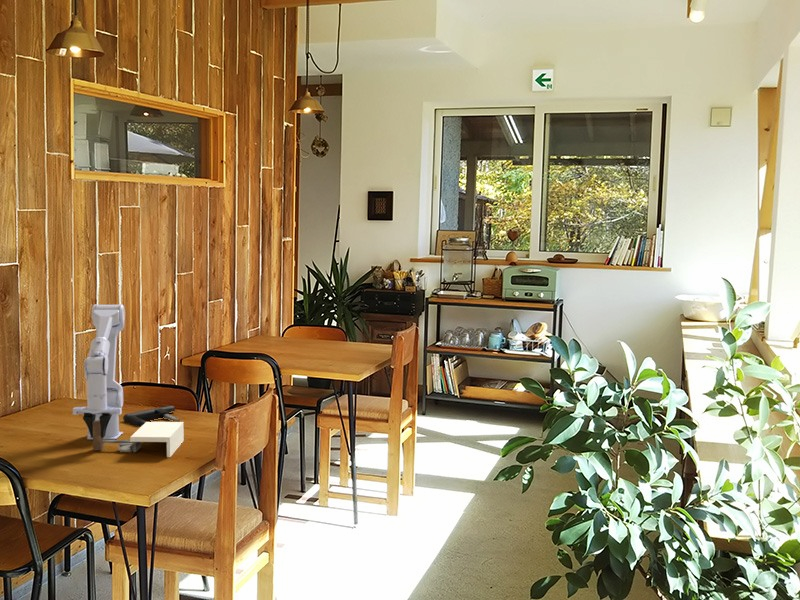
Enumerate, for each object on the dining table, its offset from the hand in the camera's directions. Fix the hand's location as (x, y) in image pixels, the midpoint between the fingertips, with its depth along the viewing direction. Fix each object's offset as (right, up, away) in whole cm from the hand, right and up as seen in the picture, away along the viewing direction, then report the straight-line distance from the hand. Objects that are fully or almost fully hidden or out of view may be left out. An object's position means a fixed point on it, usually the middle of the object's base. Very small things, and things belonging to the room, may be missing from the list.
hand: (98, 436), depth 262 cm
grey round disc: (+9, -4, +1) cm, 10 cm away
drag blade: (+6, -4, +1) cm, 7 cm away
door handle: (+8, -1, +37) cm, 38 cm away
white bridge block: (+18, -4, +3) cm, 19 cm away
